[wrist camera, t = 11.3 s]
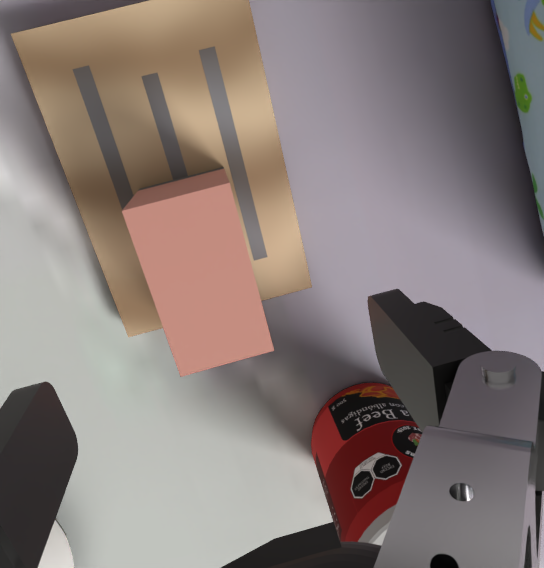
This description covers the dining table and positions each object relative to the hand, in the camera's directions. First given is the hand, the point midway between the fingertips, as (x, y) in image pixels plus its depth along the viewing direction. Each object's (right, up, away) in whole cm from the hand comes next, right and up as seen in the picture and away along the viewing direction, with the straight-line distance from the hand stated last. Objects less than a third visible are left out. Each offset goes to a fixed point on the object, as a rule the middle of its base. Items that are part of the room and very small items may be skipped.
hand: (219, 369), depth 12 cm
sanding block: (-2, +4, +15) cm, 15 cm away
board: (-4, +8, +15) cm, 17 cm away
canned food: (+8, -8, +22) cm, 25 cm away
